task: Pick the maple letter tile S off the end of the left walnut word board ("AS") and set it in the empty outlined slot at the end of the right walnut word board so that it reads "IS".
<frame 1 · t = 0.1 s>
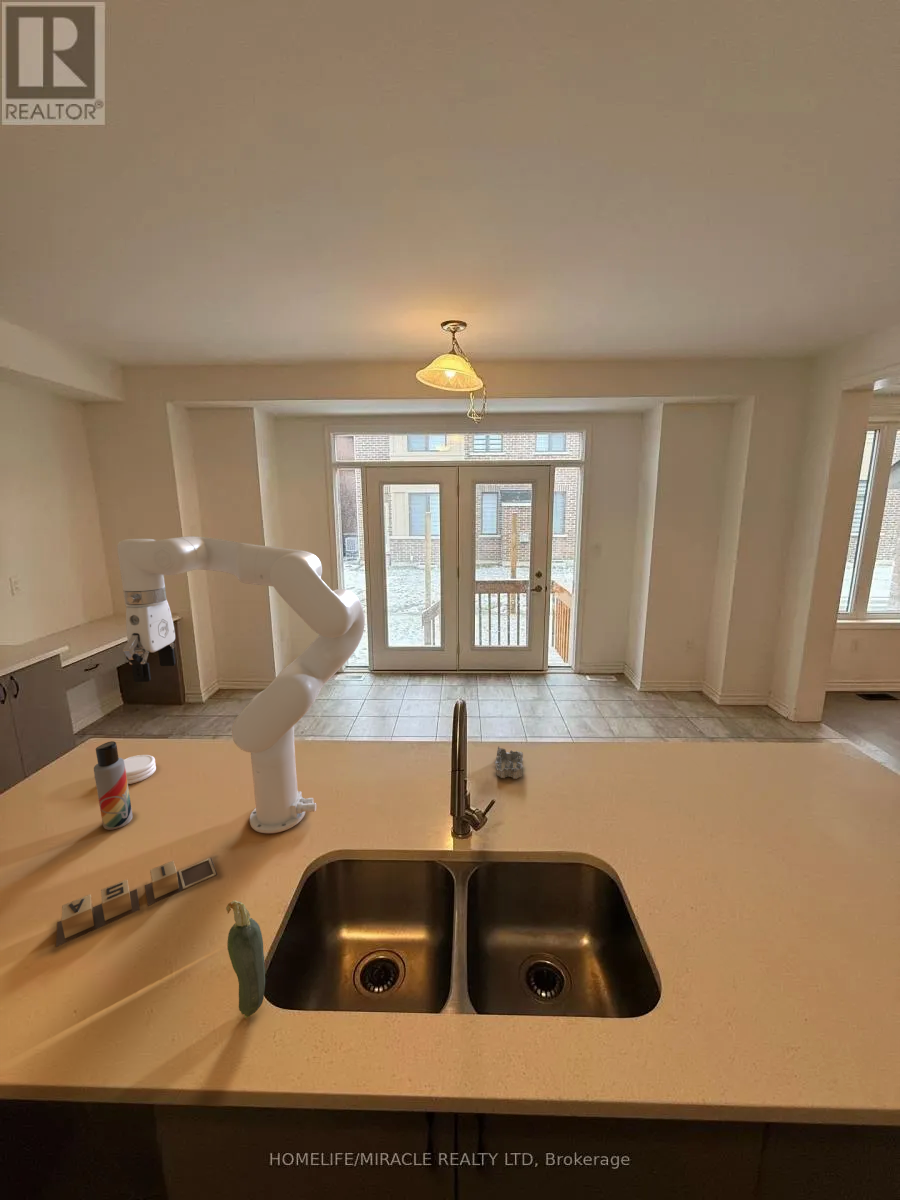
hand: (155, 673, 102), 37 cm above the worktop, tool pointing down, fingers open, 9 cm apart
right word: (181, 881, 91), on the worktop
egg carton: (509, 769, 130), on the worktop
lotion bottle: (118, 822, 108), on the worktop
tile s: (117, 907, 85), resting on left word
vegetable: (253, 1018, 67), on the worktop
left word: (99, 917, 83), on the worktop
coaster: (135, 775, 128), on the worktop
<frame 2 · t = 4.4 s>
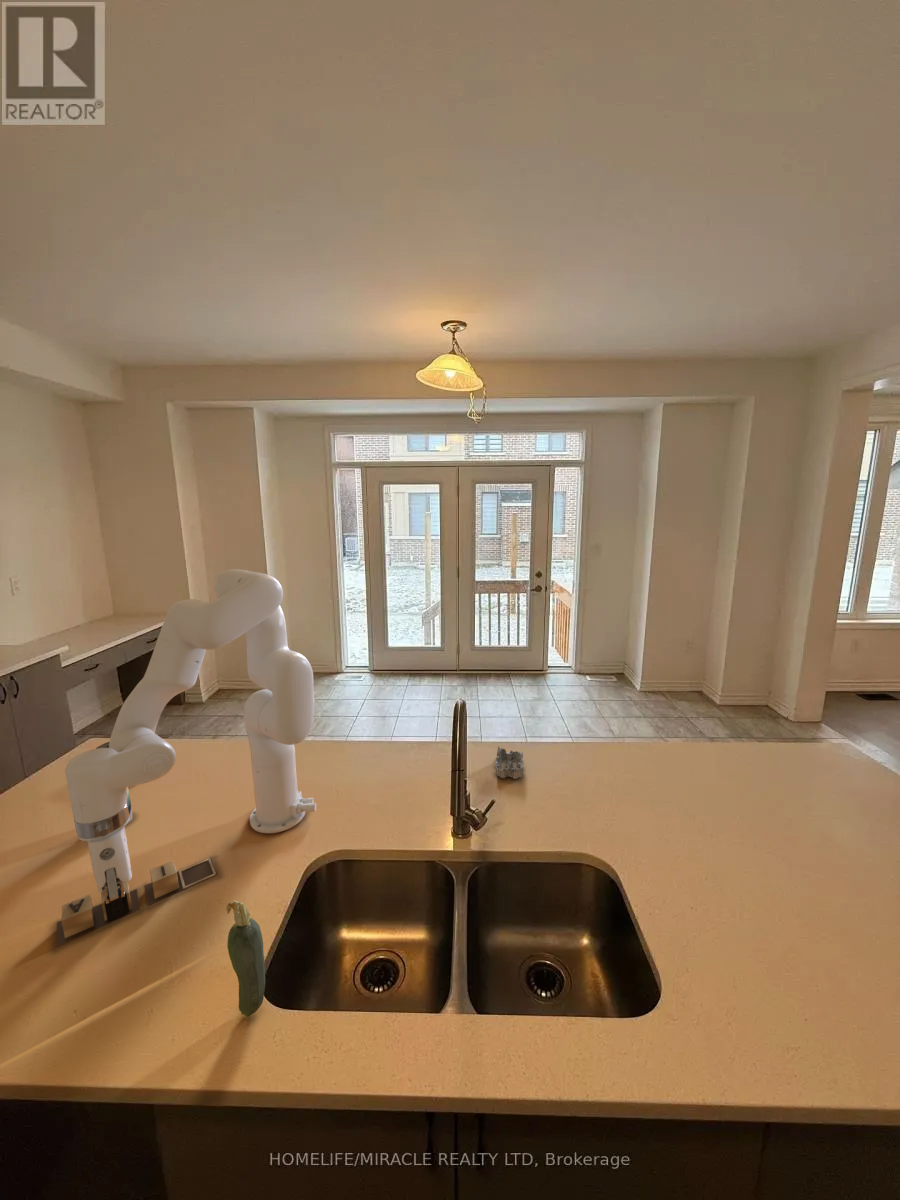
hand: (117, 906, 85), 1 cm above the worktop, tool pointing down, fingers closed on tile s, 4 cm apart
tile s: (117, 907, 85), resting on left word, touching gripper
everything else where it was.
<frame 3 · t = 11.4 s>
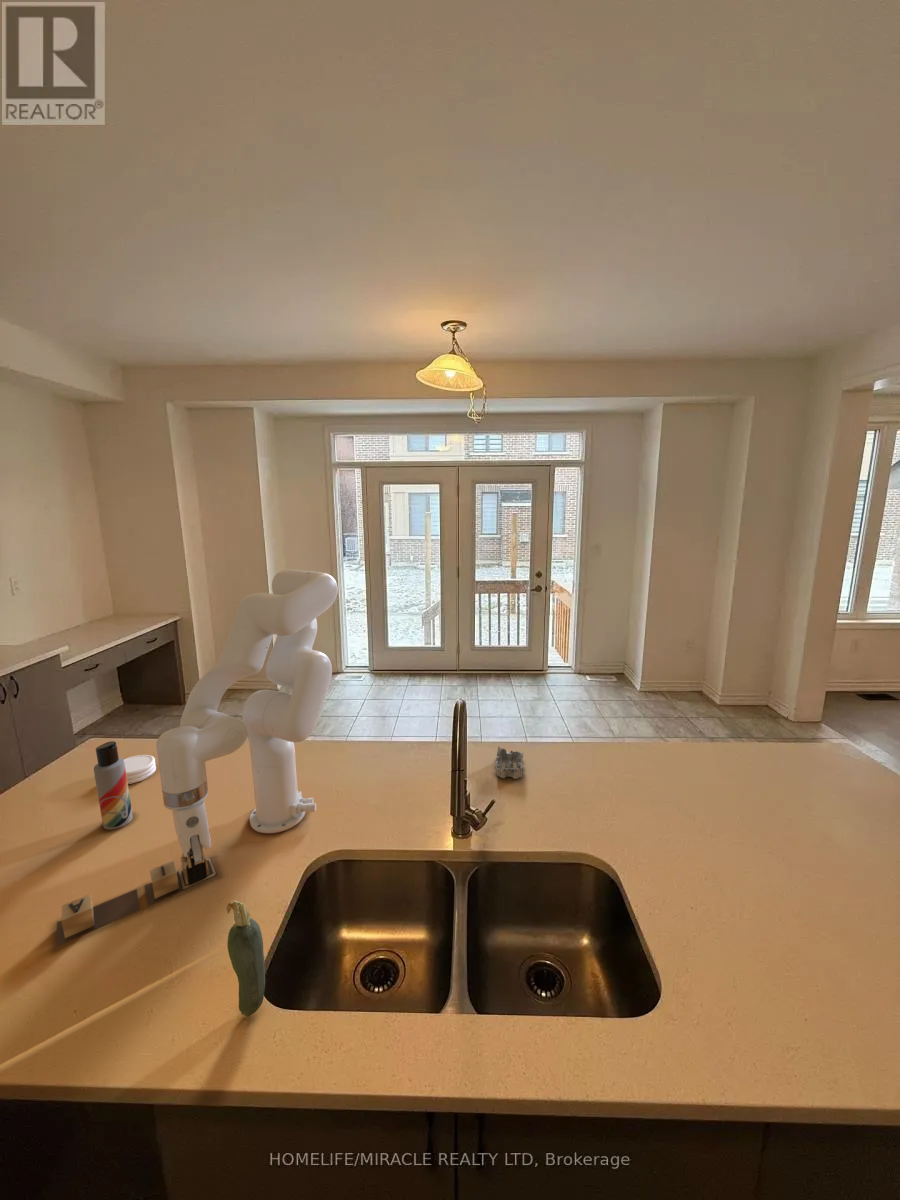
hand: (195, 872, 92), 1 cm above the worktop, tool pointing down, fingers closed on tile s, 3 cm apart
tile s: (195, 874, 92), point 1 cm above the worktop, touching gripper
everything else where it was.
when the fingers open (1 cm above the worktop, at t = 14.5 s): tile s stays where it is, resting on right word.
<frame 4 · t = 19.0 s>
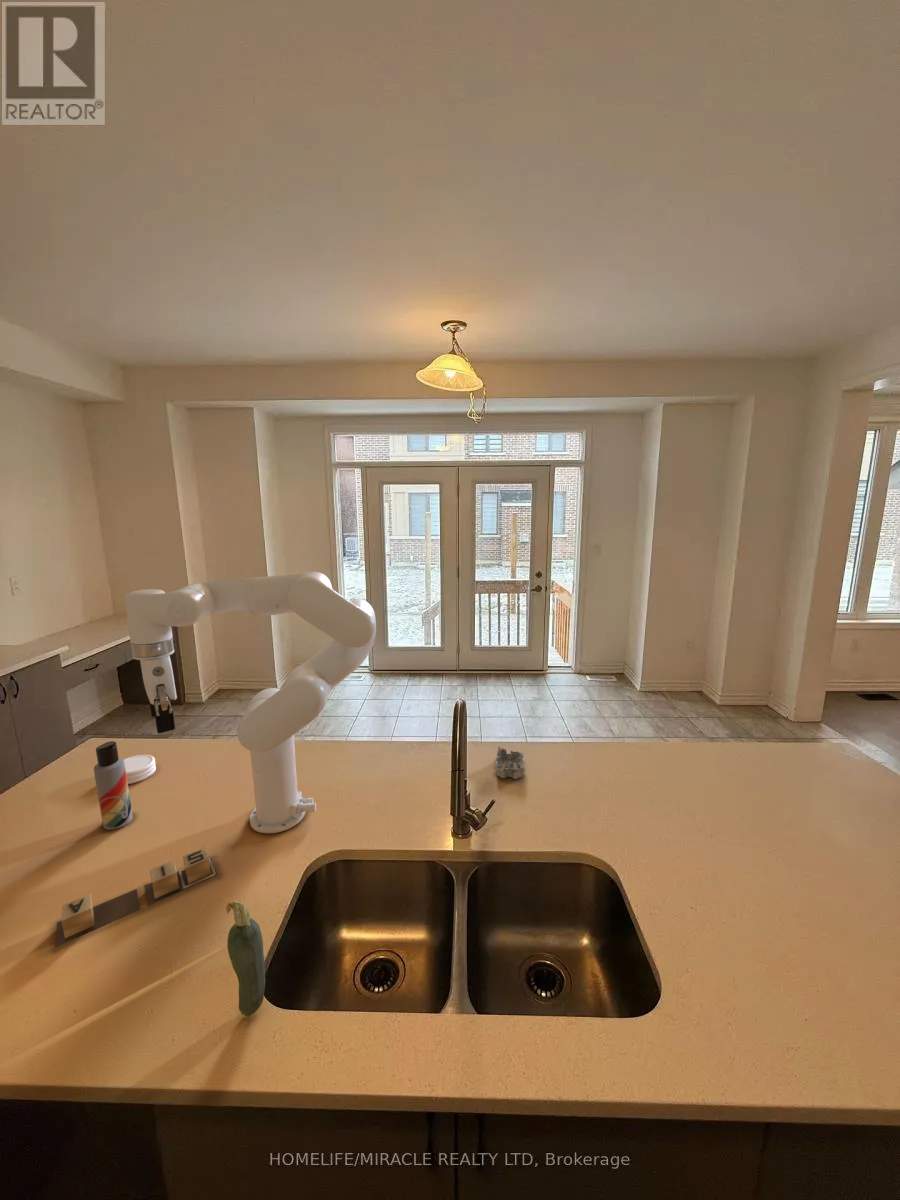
hand: (163, 722, 101), 26 cm above the worktop, tool pointing down, fingers open, 9 cm apart
tile s: (197, 872, 93), resting on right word
everything else where it was.
at the end: tile s 0.1 cm from the target spot on the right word, point 0.4 cm above the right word's base; tile s tilted 0°; the gripper is holding nothing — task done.
